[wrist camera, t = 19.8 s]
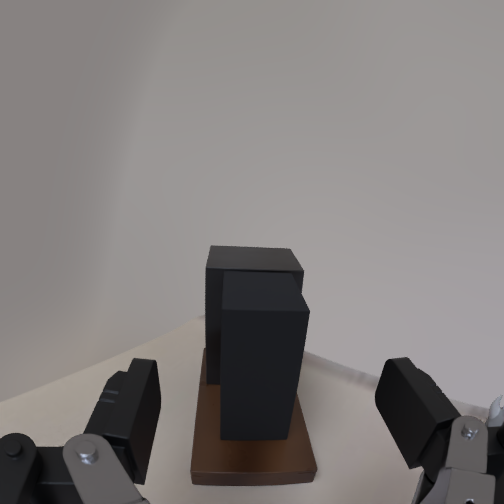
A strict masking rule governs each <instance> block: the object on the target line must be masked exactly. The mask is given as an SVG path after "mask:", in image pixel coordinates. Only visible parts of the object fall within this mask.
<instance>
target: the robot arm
mask: <svg viewBox="0 0 504 504" xmlns="http://www.w3.org/2000/svg"><path fill="white" fill-rule="evenodd" d="M375 403H376V406H377V408H378V410H379V412H380V414H381V416H382V418H383V420H384V421H385V423H386V425H387V427H388V429H389V431H390V433H391V435H392V437H393V438H394V440H395V442H396V444H397V446H398V448H399V450H400V452H401V454H402V456H403V458H404V459H405V461H406V463H407V465H408V467H409V469H413V468H416V467H420V466H422V467H423V469H424V470H423V471H422V473H421V475H420V478H419V481H418V485H417V488H416V491H415V494H414V497H413V500H412V503H411V504H504V422H503V423H502V425H501V426H495V427H486V426H485V424H484V423H483V422H482V421H481V420H479V419H477V418H475V417H472V416H461V415H460V413H459V412H458V411H457V409H456V408H455V407H454V406H453V404H452V403H451V402H450V401H449V399H448V398H447V397H446V395H445V394H444V393H442V390H441V389H440V388H439V387H438V386H436V383H435V382H434V381H433V380H432V378H431V377H430V376H429V375H428V374H426V373H425V372H423V371H422V370H420V369H417V368H416V367H415V365H414V364H413V363H412V362H411V360H410V359H409V358H407V357H404V358H395V359H388V360H387V361H386V362H385V365H384V368H383V371H382V374H381V377H380V380H379V383H378V386H377V389H376V392H375ZM160 409H161V392H160V384H159V377H158V369H157V362H156V360H149V359H139V358H134V359H133V360H132V362H131V364H130V367H129V369H128V371H127V372H123V371H118V372H116V373H115V374H114V375H113V376H112V377H110V378H109V379H108V381H107V383H106V385H105V387H104V389H103V392H102V393H101V395H100V398H99V401H98V402H97V404H96V406H95V408H94V411H93V413H92V415H91V417H90V419H89V422H88V424H87V426H86V428H85V431H84V433H83V434H80V435H77V436H74V437H72V438H71V439H70V440H68V441H67V442H66V444H65V445H64V446H62V447H36V445H35V444H34V442H33V440H32V439H31V438H30V437H28V436H26V435H24V434H21V433H11V434H8V435H5V436H3V437H2V438H1V439H0V504H150V503H149V502H148V500H147V499H146V498H143V497H142V496H141V494H140V493H139V491H138V490H137V488H136V487H135V485H134V483H135V484H141V485H144V484H145V479H146V474H147V469H148V464H149V459H150V455H151V450H152V445H153V441H154V436H155V432H156V427H157V423H158V418H159V414H160Z"/></svg>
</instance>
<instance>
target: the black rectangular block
mask: <svg viewBox="0 0 504 504" xmlns="http://www.w3.org/2000/svg"><path fill="white" fill-rule="evenodd" d="M309 314H310V310H309V308H308V306H307V304H306V302H305V300H304V298H303V296H302V294H301V292H300V290H299V288H298V286H297V284H296V282H295V280H294V278H293V276H292V274H291V273H267V272H238V271H224V277H223V292H222V308H221V364H220V439H221V440H236V441H257V440H286V439H287V438H288V433H289V428H290V423H291V418H292V413H293V408H294V403H295V398H296V392H297V387H298V381H299V376H300V370H301V364H302V358H303V352H304V346H305V340H306V333H307V327H308V320H309Z"/></svg>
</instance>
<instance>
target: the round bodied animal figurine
mask: <svg viewBox="0 0 504 504" xmlns="http://www.w3.org/2000/svg"><path fill="white" fill-rule="evenodd" d="M501 398H502V395H501V396H499V397H498V398H497V399H496V400H495V401H494V402H493V403H492V404H491V406H490V409H489V417H488V419H487V421H486V423H485V426H486V427H495V426H501V425H502V423H503V422H504V407H502V408H500V400H501Z"/></svg>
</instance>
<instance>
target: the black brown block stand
mask: <svg viewBox="0 0 504 504" xmlns="http://www.w3.org/2000/svg"><path fill="white" fill-rule="evenodd" d="M224 271H238V272H267V273H291V274H292V276H293V278H294V280H295V282H296V284H297V286H298V288H299V290H300V292H301V293H302V285H303V277H304V270H303V268H302V267H301V265H300V264H299V262H298V260H297V259H296V257H295V256H294V254H293V253H292V251H291V249H285V248H261V247H260V248H259V247H236V246H211V247H210V251H209V256H208V260H207V264H206V278H205V280H206V281H205V282H206V283H205V284H206V285H205V340H206V348H204V351H203V359H202V367H201V376H200V384H199V393H198V402H197V411H196V420H195V429H194V439H193V449H192V460H191V470H190V472H191V479H192V484H199V485H221V486H259V485H281V484H295V483H306V482H312V481H313V479H314V477H315V474H316V472H317V465H316V462H315V458H314V454H313V450H312V447H311V443H310V439H309V436H308V432H307V428H306V424H305V421H304V417H303V413H302V410H301V406H300V402H299V398H298V395H297V392H296V398H295V403H294V408H293V413H292V418H291V423H290V428H289V433H288V438H287V439H286V440H257V441H236V440H221V439H220V364H221V308H222V292H223V277H224Z"/></svg>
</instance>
